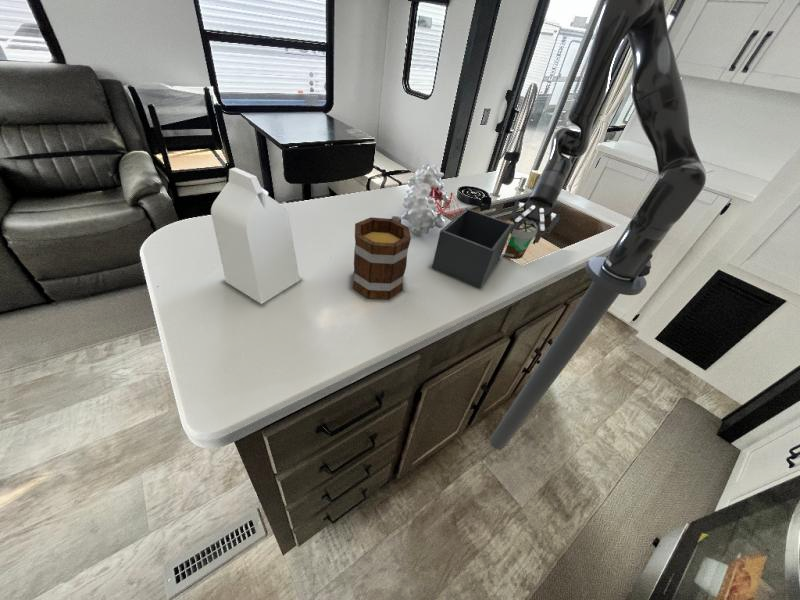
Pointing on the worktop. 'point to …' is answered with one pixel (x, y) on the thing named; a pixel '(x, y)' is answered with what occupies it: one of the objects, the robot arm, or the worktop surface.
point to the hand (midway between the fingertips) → (523, 238)
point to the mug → (380, 257)
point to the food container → (521, 239)
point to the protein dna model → (426, 200)
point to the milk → (253, 238)
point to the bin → (471, 246)
